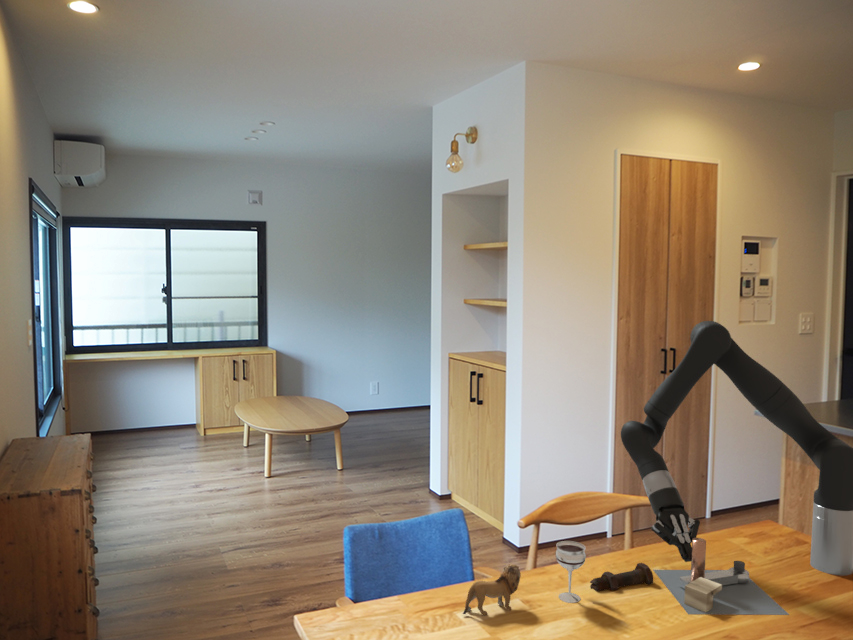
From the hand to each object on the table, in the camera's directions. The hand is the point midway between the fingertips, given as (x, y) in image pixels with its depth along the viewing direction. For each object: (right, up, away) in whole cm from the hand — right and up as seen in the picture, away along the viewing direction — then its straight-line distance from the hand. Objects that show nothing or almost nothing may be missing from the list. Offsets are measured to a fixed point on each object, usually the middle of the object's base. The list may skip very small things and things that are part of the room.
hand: (690, 560), depth 160 cm
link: (+6, -5, 0) cm, 8 cm away
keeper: (-1, -6, -9) cm, 11 cm away
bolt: (-17, -7, 0) cm, 18 cm away
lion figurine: (-48, -7, -10) cm, 49 cm away
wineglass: (-30, -7, -5) cm, 31 cm away
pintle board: (+5, -7, -3) cm, 9 cm away
